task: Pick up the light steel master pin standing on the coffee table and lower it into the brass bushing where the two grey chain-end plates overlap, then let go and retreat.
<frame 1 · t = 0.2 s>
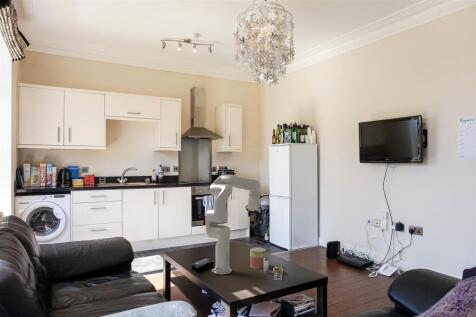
hand: (254, 217, 259), 31 cm above the table, fingers open, 9 cm apart
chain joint: (278, 273, 217), on the table
canned food: (257, 266, 232), on the table
master pin: (266, 273, 217), on the table
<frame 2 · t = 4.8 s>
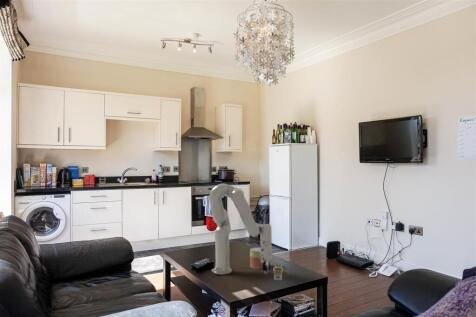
hand: (266, 269, 218), 2 cm above the table, fingers closed on master pin, 3 cm apart
master pin: (266, 273, 217), on the table, touching gripper
everything else where it was.
when the fingers open (3 cm above the table, at t = 8.7 s): master pin drops 1 cm, resting in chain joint.
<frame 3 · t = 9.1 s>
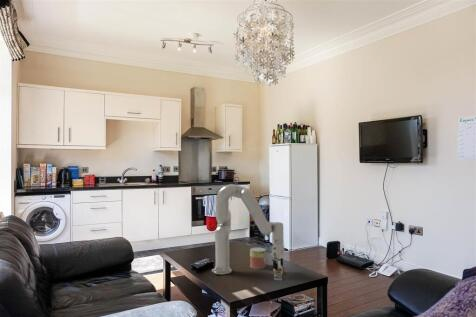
hand: (278, 267, 217), 4 cm above the table, fingers open, 7 cm apart
master pin: (278, 273, 217), resting in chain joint
everything else where it was.
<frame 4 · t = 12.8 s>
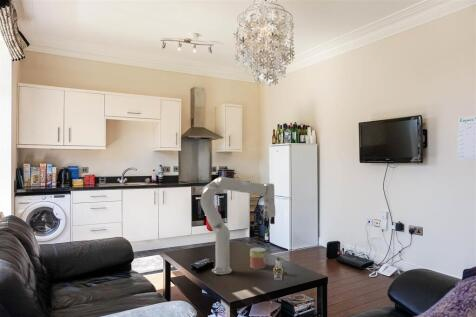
hand: (269, 225, 229), 30 cm above the table, fingers open, 9 cm apart
nothing on the table moved.
at the end: master pin 0.1 cm off-centre on the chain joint, point 0.0 cm above the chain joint's base; master pin tilted 0°; the gripper is holding nothing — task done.
